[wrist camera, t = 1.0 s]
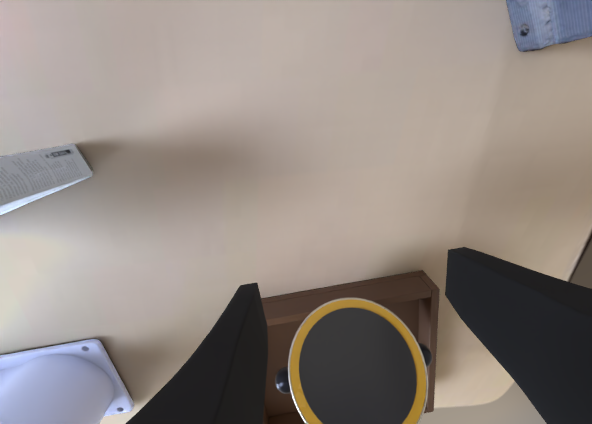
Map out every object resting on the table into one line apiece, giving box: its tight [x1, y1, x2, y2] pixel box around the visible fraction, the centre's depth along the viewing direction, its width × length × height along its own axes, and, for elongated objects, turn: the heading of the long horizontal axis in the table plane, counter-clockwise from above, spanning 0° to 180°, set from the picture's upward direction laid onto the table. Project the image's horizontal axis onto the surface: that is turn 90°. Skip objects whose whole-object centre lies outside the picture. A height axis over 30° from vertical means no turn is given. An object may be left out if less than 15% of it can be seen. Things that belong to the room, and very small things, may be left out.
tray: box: [261, 271, 439, 424], centre depth 23 cm, size 15×13×2 cm
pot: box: [275, 298, 432, 424], centre depth 17 cm, size 8×10×10 cm
